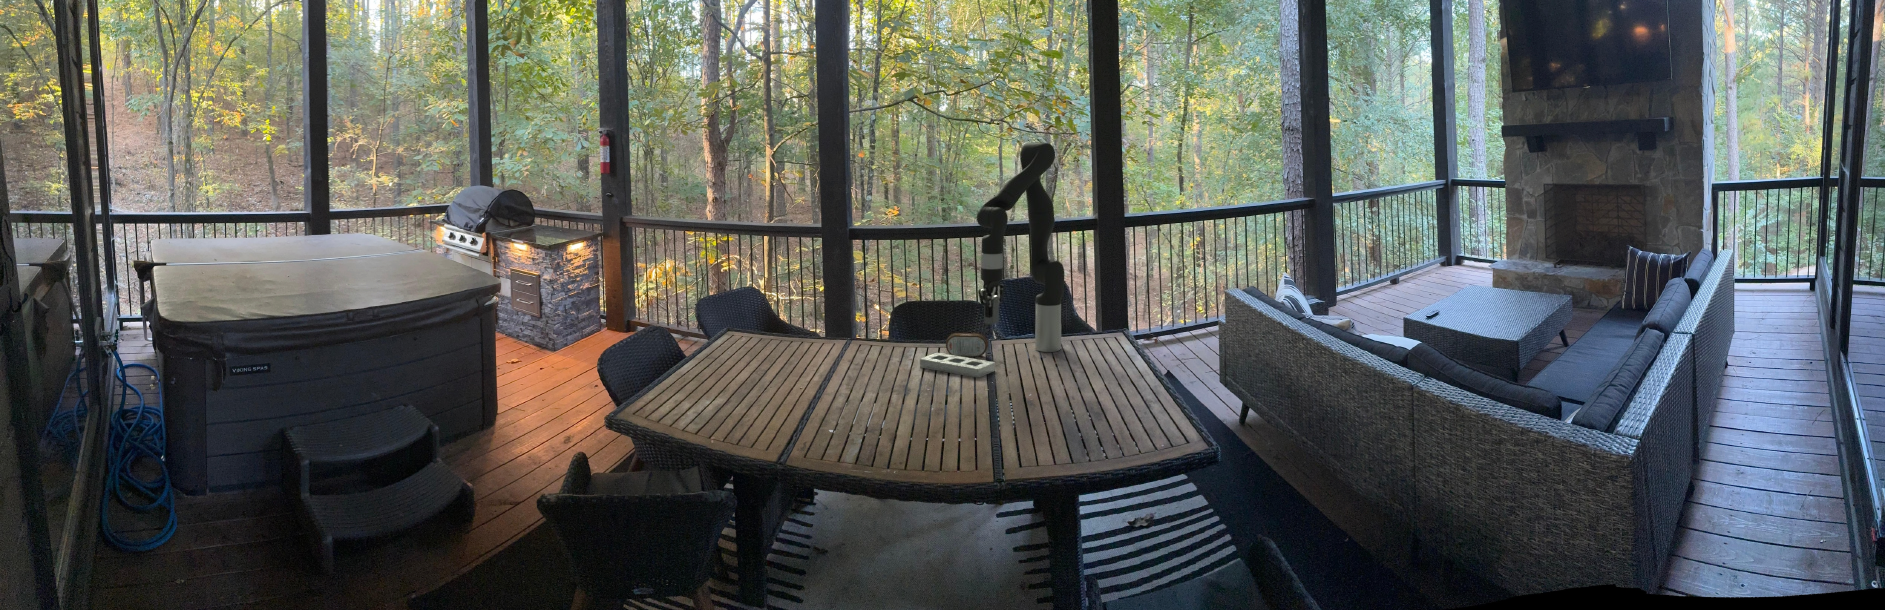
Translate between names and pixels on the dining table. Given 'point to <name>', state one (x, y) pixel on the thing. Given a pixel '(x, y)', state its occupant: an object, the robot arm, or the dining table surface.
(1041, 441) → the dining table surface
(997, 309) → the square peg
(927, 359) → the rail
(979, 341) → the tin
